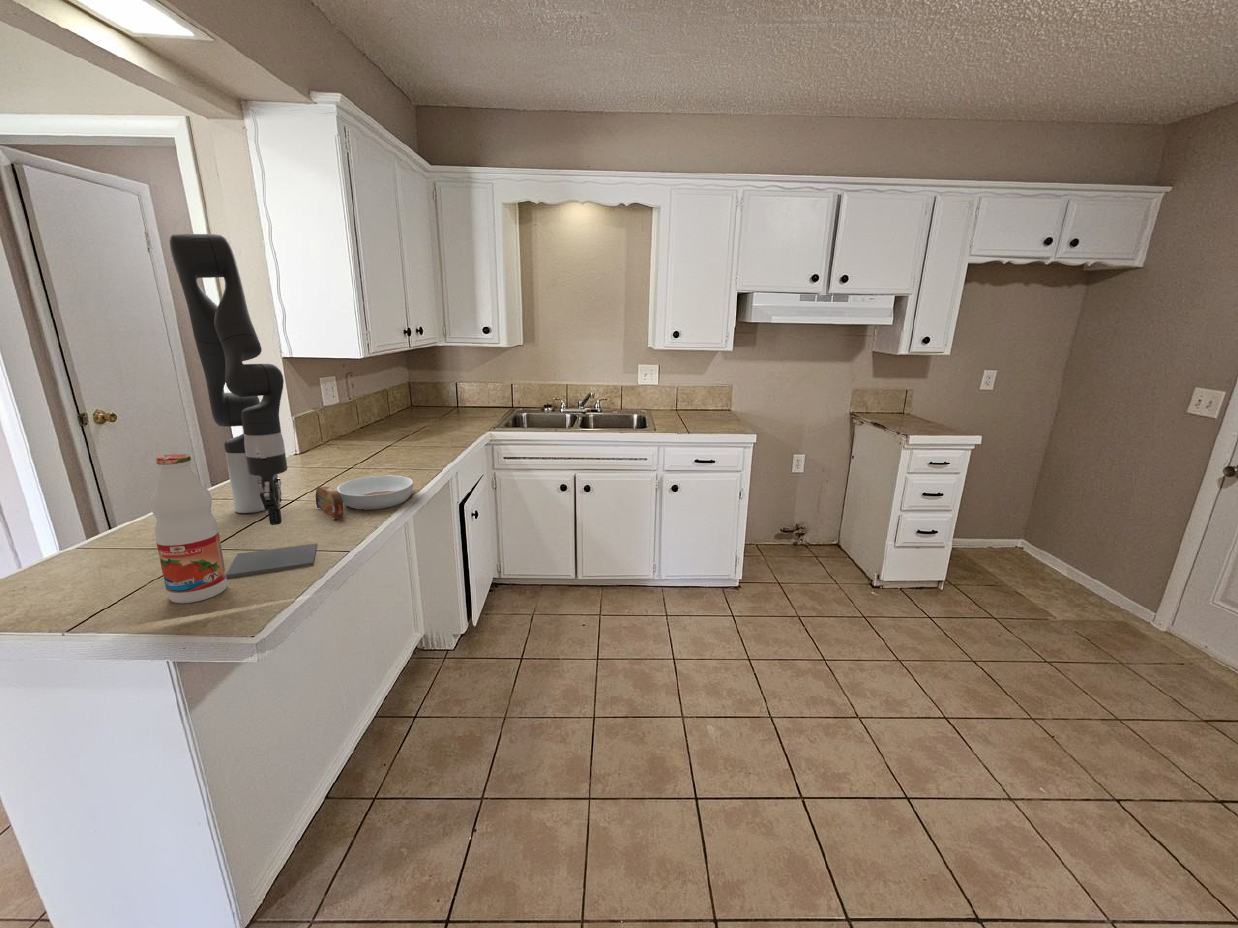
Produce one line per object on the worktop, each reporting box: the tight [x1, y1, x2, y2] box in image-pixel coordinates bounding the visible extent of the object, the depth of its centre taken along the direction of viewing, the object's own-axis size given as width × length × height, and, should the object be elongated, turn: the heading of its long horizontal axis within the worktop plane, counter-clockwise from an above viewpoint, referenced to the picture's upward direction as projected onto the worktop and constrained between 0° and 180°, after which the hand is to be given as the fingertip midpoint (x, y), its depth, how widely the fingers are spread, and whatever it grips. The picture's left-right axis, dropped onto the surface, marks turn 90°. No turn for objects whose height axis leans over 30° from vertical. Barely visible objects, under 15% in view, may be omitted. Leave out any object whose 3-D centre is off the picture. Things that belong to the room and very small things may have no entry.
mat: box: [226, 542, 318, 579], centre depth 118 cm, size 12×16×1 cm
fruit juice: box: [149, 453, 228, 604], centre depth 100 cm, size 9×9×28 cm
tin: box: [315, 486, 344, 521], centre depth 146 cm, size 15×3×8 cm, turn 47°
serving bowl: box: [336, 474, 414, 511], centre depth 157 cm, size 21×21×7 cm
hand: (276, 523), depth 123 cm, fingers closed
